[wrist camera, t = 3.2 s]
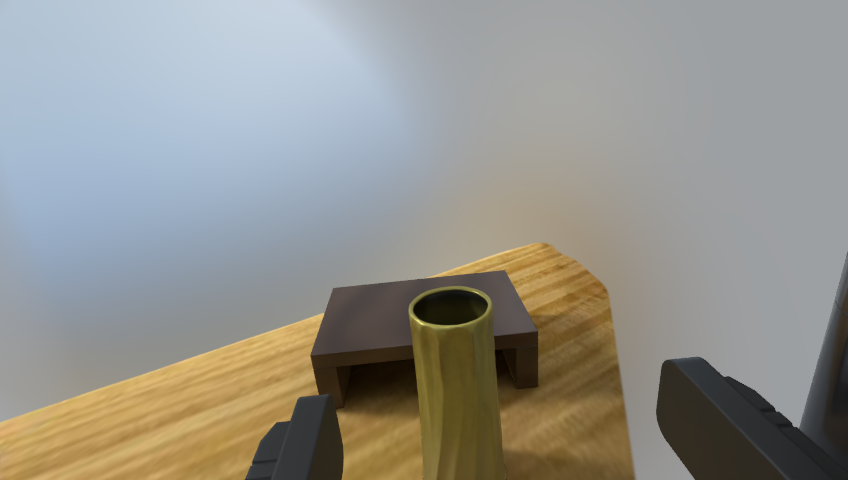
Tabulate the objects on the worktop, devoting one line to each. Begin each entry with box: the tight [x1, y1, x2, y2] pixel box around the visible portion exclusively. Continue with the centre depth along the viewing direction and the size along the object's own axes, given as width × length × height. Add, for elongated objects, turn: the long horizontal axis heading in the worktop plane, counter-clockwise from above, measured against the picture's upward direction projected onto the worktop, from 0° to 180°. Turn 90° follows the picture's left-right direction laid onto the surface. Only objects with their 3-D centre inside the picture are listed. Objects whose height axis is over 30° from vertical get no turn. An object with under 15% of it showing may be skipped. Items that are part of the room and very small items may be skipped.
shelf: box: [310, 270, 538, 408], centre depth 44 cm, size 20×13×6 cm, turn 93°
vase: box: [409, 286, 507, 480], centre depth 29 cm, size 6×6×14 cm
